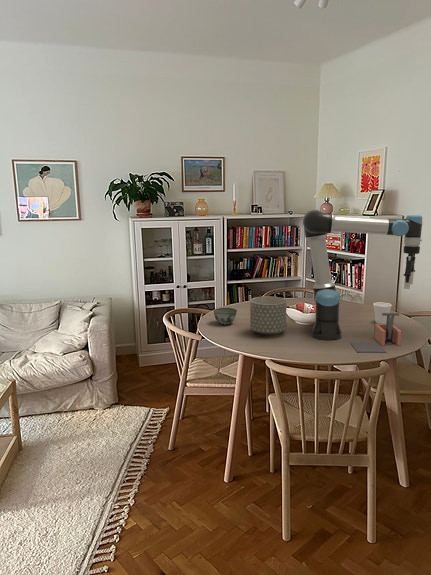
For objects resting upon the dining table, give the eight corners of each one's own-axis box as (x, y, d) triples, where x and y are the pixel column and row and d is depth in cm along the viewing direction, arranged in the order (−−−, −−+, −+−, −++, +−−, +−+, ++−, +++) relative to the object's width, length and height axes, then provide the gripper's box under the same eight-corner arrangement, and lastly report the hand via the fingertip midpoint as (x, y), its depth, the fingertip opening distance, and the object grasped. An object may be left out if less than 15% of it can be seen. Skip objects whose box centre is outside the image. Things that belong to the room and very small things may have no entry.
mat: (357, 352, 193) (357, 351, 193) (350, 343, 206) (350, 342, 206) (386, 352, 192) (386, 351, 192) (377, 343, 205) (377, 342, 205)
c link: (381, 345, 202) (382, 331, 201) (373, 336, 215) (374, 323, 214) (400, 345, 202) (401, 331, 200) (391, 337, 214) (392, 323, 213)
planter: (287, 329, 231) (288, 297, 228) (283, 339, 213) (284, 305, 210) (253, 327, 236) (253, 295, 233) (247, 337, 218) (247, 303, 215)
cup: (392, 325, 233) (393, 306, 231) (373, 325, 235) (374, 306, 233) (388, 321, 243) (390, 302, 241) (370, 320, 245) (371, 302, 243)
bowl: (211, 326, 240) (210, 312, 238) (216, 320, 252) (216, 307, 251) (234, 327, 236) (234, 313, 235) (238, 321, 249) (238, 308, 248)
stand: (382, 344, 204) (383, 314, 201) (379, 341, 208) (381, 312, 205) (398, 344, 203) (400, 314, 200) (395, 341, 207) (397, 312, 204)
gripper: (417, 248, 202) (413, 291, 206) (422, 243, 223) (418, 283, 227) (400, 247, 206) (397, 289, 210) (406, 243, 227) (403, 281, 231)
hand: (408, 286), depth 219 cm, fingers open, 13 cm apart
